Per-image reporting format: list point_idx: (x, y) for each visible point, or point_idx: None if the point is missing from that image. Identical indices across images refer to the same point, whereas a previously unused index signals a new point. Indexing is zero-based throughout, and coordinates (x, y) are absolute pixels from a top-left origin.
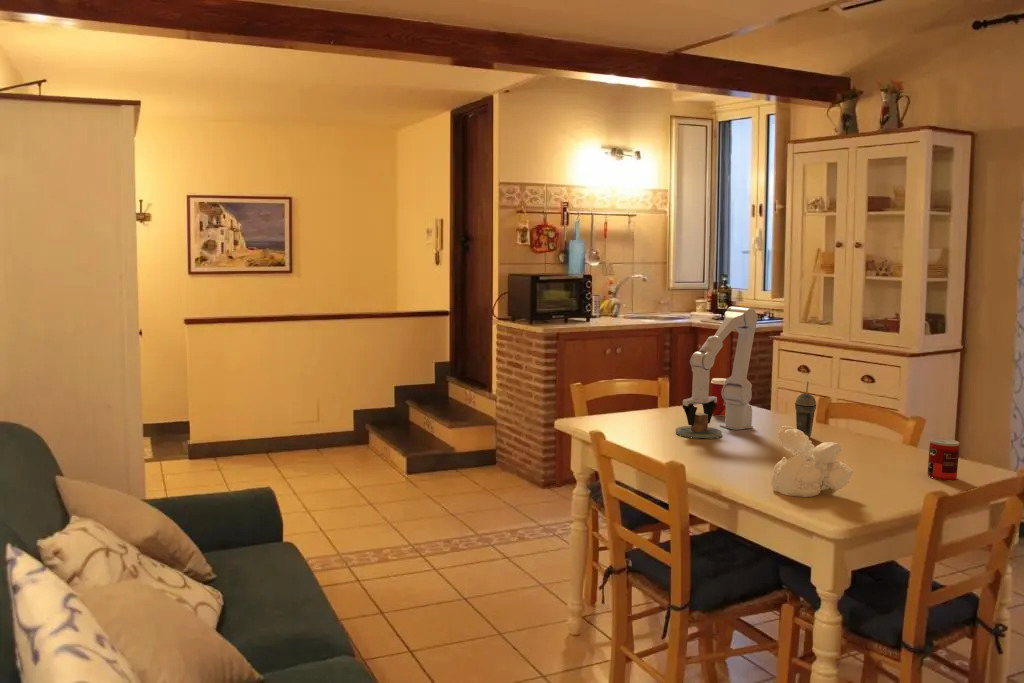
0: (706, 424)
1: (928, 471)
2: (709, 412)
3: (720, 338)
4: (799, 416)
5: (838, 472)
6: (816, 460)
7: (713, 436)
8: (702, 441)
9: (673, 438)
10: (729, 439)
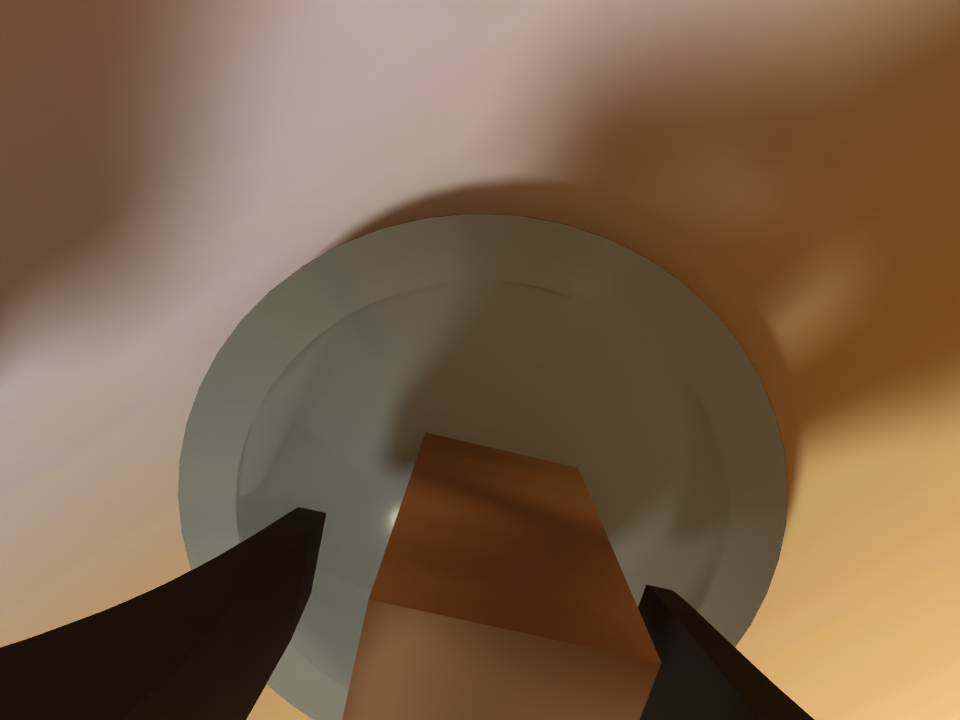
0: (437, 484)
1: None
2: (211, 667)
3: None
4: None
5: None
6: None
7: (585, 233)
8: (830, 246)
9: (909, 566)
10: (441, 49)
